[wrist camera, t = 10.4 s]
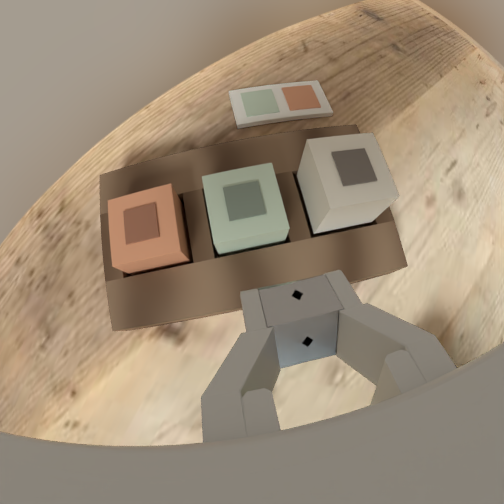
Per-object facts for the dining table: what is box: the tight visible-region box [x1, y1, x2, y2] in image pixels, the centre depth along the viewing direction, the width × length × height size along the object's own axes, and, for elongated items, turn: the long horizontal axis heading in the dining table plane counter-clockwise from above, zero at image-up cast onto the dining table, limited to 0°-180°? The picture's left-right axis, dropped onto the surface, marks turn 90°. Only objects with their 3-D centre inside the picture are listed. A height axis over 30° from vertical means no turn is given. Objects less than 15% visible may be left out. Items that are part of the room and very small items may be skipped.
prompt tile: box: [229, 80, 333, 129], centre depth 26 cm, size 9×4×1 cm, turn 102°
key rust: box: [108, 184, 194, 276], centre depth 20 cm, size 4×4×5 cm
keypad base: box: [100, 125, 408, 331], centre depth 22 cm, size 21×12×3 cm, turn 102°
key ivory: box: [297, 133, 399, 234], centre depth 19 cm, size 4×4×5 cm
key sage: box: [202, 163, 290, 257], centre depth 20 cm, size 4×4×5 cm
